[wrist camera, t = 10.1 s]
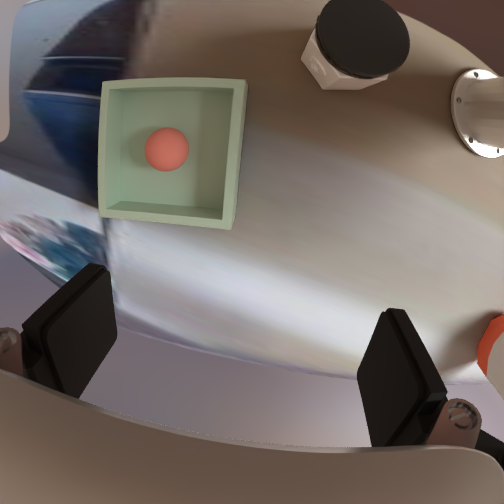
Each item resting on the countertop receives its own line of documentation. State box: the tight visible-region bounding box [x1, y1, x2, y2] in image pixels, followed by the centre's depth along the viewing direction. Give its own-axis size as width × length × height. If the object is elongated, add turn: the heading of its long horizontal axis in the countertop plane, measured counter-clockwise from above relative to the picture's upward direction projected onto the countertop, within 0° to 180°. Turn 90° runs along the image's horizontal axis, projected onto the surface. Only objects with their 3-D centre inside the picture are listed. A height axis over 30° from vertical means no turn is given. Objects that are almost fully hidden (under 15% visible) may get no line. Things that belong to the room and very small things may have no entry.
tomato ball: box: [145, 127, 189, 172], centre depth 33 cm, size 5×5×5 cm
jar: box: [301, 0, 410, 90], centre depth 25 cm, size 9×8×12 cm
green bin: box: [98, 77, 248, 230], centre depth 33 cm, size 16×16×5 cm
